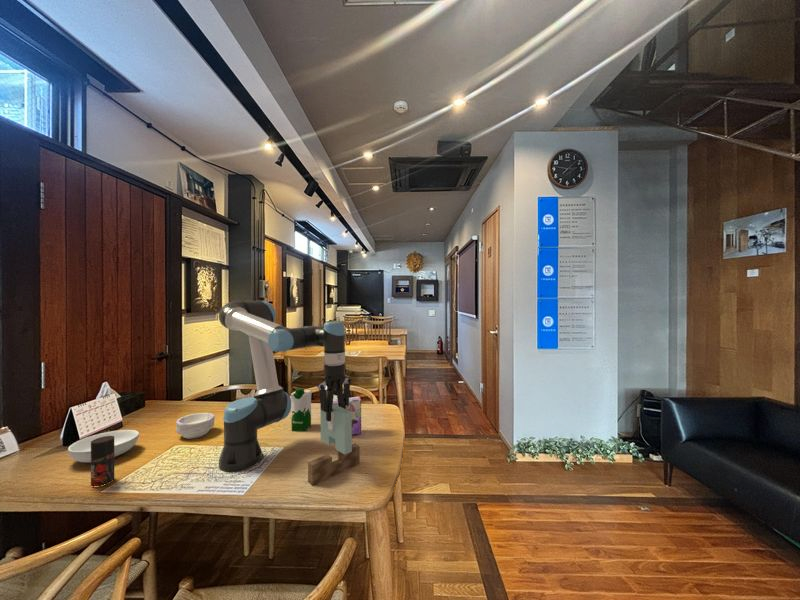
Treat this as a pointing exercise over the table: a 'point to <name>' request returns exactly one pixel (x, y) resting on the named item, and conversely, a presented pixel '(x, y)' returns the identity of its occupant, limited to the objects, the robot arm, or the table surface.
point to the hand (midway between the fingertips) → (335, 427)
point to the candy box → (354, 413)
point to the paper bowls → (195, 425)
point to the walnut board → (332, 465)
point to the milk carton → (301, 409)
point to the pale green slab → (338, 429)
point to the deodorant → (102, 460)
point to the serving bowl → (121, 437)
